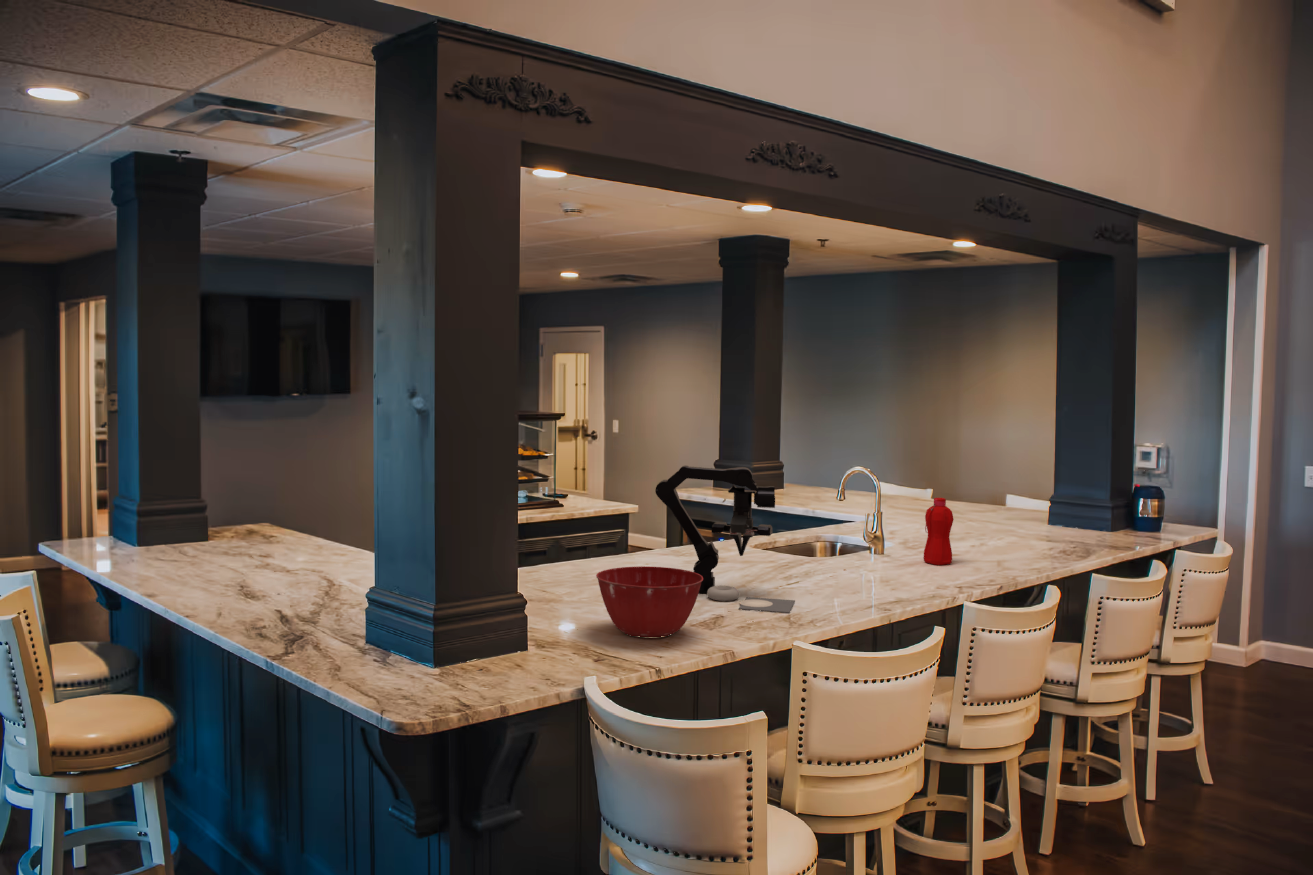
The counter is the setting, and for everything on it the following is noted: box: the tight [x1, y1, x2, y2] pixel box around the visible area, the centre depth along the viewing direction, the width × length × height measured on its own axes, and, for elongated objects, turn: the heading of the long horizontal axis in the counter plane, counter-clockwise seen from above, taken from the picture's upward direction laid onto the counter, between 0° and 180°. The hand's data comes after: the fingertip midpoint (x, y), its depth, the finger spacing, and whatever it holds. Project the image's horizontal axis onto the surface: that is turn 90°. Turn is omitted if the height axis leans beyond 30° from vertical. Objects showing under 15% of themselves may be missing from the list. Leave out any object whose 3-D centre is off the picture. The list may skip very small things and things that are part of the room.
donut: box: [706, 585, 740, 602], centre depth 300 cm, size 10×4×10 cm
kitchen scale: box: [738, 596, 796, 614], centre depth 292 cm, size 16×16×1 cm
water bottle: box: [922, 497, 954, 566], centre depth 366 cm, size 9×11×25 cm
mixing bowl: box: [595, 566, 703, 637], centre depth 258 cm, size 28×28×16 cm
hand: (741, 555), depth 308 cm, fingers closed
